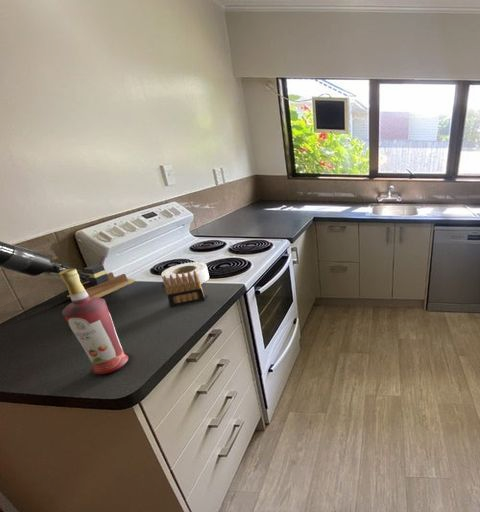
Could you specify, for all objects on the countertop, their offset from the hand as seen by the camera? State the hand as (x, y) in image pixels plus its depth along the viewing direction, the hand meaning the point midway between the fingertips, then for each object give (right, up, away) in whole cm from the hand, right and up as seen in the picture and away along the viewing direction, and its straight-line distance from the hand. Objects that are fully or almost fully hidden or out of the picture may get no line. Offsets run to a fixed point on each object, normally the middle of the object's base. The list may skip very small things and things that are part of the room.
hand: (79, 276), depth 105 cm
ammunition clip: (+41, -10, -1) cm, 42 cm away
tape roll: (+30, -3, +14) cm, 34 cm away
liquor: (+41, -22, -31) cm, 56 cm away
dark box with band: (+1, -5, +7) cm, 9 cm away
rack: (+1, -6, +8) cm, 10 cm away
